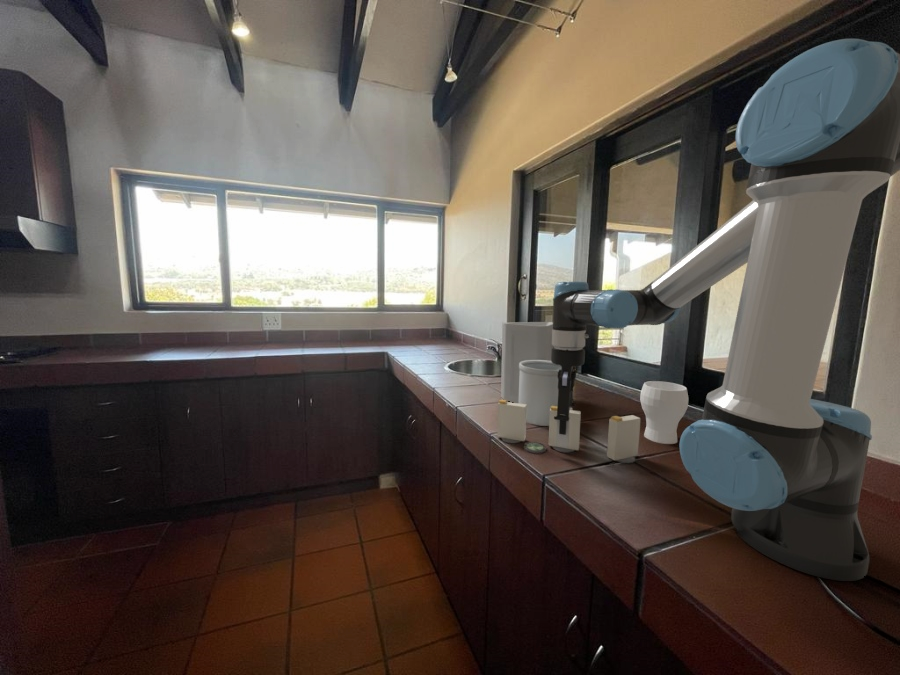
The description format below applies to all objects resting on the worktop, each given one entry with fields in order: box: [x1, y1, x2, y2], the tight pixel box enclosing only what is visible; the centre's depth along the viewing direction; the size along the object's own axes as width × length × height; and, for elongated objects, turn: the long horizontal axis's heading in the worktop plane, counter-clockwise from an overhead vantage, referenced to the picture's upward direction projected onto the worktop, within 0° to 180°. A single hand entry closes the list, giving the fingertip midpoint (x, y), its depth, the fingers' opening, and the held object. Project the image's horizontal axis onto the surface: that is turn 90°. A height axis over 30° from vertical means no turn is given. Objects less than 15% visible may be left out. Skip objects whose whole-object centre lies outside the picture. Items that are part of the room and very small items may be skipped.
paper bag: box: [500, 321, 554, 403], centre depth 122 cm, size 19×15×28 cm
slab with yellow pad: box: [606, 414, 641, 464], centre depth 79 cm, size 5×7×10 cm
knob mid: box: [548, 406, 582, 454], centre depth 84 cm, size 5×7×10 cm
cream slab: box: [496, 398, 527, 444], centre depth 89 cm, size 5×7×10 cm
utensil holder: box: [519, 360, 562, 427], centre depth 105 cm, size 15×15×18 cm
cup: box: [639, 380, 689, 445], centre depth 90 cm, size 11×11×15 cm
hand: (563, 438), depth 85 cm, fingers open, 9 cm apart
